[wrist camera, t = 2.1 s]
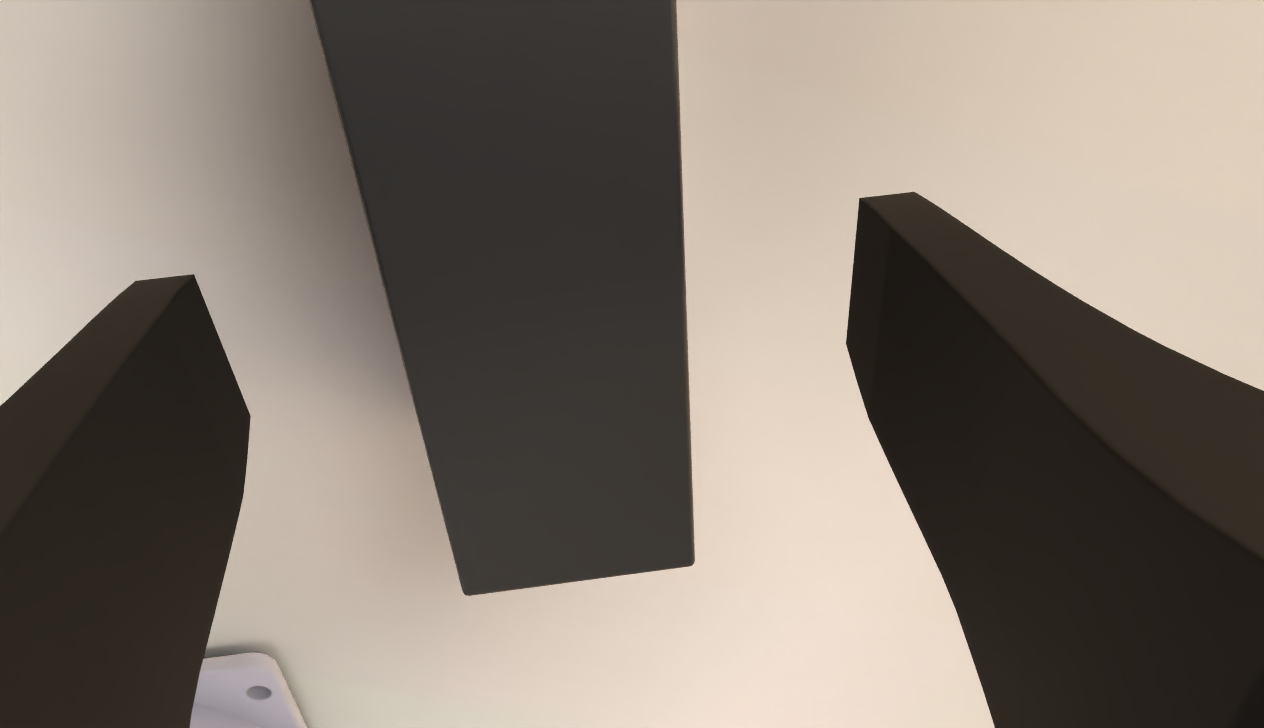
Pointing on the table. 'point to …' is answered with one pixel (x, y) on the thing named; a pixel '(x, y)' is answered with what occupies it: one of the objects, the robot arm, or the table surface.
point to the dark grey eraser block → (531, 269)
